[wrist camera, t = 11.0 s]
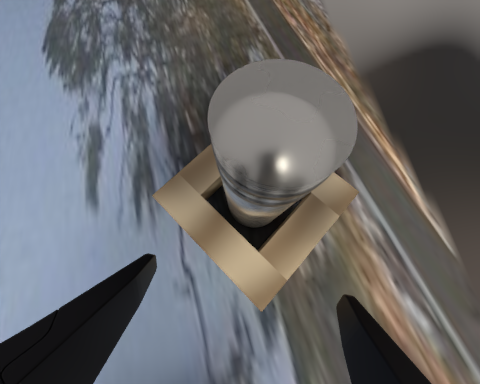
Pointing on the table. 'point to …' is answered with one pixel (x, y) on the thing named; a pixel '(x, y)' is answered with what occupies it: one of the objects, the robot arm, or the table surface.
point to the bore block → (234, 244)
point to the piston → (277, 135)
